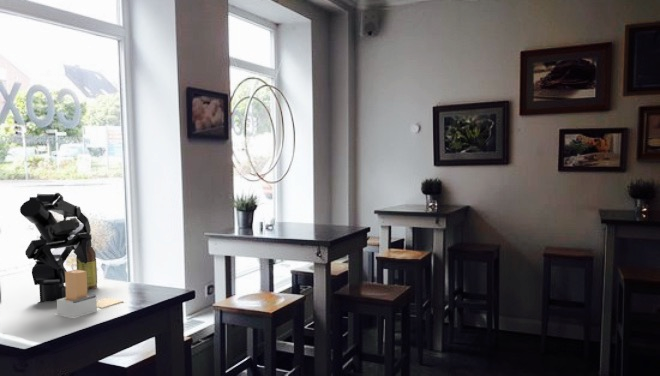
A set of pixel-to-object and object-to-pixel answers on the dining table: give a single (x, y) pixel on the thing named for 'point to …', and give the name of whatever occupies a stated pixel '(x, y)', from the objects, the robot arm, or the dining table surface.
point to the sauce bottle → (89, 267)
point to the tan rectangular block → (76, 284)
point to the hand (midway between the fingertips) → (73, 265)
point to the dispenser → (83, 306)
